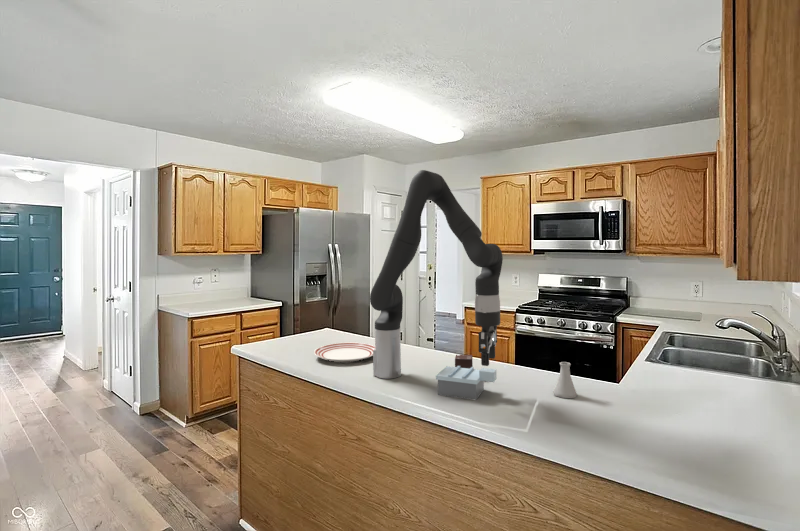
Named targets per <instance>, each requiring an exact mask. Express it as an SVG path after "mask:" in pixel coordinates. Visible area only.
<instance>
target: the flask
mask: <svg viewBox="0 0 800 531" xmlns="http://www.w3.org/2000/svg"><path fill="white" fill-rule="evenodd" d="M571 365H572V364H571V363H570V362H567V361H561V362H559V366H560V371H559V376H558V378H557V381H556V384H555V386H554V388H553V391H552V394H553V396H554V397H558V398H562V399H575V398H576V397H578V393H577V391H576V389H575V386H574V382H573V379H572V376H571V369H570V367H571Z"/></svg>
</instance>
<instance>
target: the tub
mask: <svg viewBox="0 0 800 531" xmlns="http://www.w3.org/2000/svg"><path fill="white" fill-rule="evenodd" d="M484 386H485V381H479V383H478V384H469V383H461V382H453V381H445V380H437V395H438V396H443V397H444V396H445V397H450V398H459V399H467V400H474V401H477V399H478V398H479V397H480V395H481V394H482V393H483V391H484V390H485V389H484V388H485V387H484Z"/></svg>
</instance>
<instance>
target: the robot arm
mask: <svg viewBox="0 0 800 531" xmlns="http://www.w3.org/2000/svg"><path fill="white" fill-rule="evenodd" d="M454 195H455V194H453V192H452V190H451V188H450V187H449V186H448V183H447V182H446V180H445V179H444V177H443V176H442V175H441V174H438V173H436V172H433V171H429V170H426V169H420V170H419V171H417V172H416V173H415V174H414V175H413V177H412V178H411V180H410V182H409V188H408V191H407V195H406V200H405V203H404V207H403V210H402V212H401V214H400V217H399V222H398V224H397V227H396V230H395V232H394V235H393V237H392V240H391V243H390V246H389V249H388V251H387V253H386V257H385V260H384V262H383V265H382V267H381V270H380V272H379V274H378V276H377V278H376V280H375V282H374V284H373V287H372V288H371V291H370V294H369V302H370V305H371V308H373V310H375V311H378V312H379V311H380V314H379V316H378V317H377V318H376V319H375V321H374V346H375V349H374V350H373V356H372V363H373V364H372V370H373V372H372V374H373V376H374V377H377V378H379V379H386V380H387V379H389V380H391V379H395V378H398V377H400V376H402V358H401V357H402V356H401V355H402V354H401V353H402V352H401V351H402V350H401V349H402V348H401V322H402V321H403V312H404V310H403V307H404V306H403V305H404V304H403V303H404V302H403V301H404V298H403V292H402V289H401V287H399V286H398V284H397V283H398V281H399V278H400V277H401V276H402V275H403V272H404V271H405V270H406V269H407V267H409V265H410V264H411V262H413V259H414V258H415V256H416V254H417V251H418V249H419V246H420V244H421V241H422V223H421V222H422V221H421V220H422V214H423V210H424V208H425V206H426V203H427V201H430V202H433V203H434V204H435V205H436V206H437V207H438V208H439V209H440V210H441V211H442V213H443V215H444V217H445V220H446V222H447V225H448V227H449V228H450V230H451V231H452V233H453V234H454V236H455V237H456V238H457V239H458V241H459V242H460V243H461V244H462V247H463V249H464V251H465V253H466V255H467V257H468V259H469V260H470V262H471V264H473V265H475V266H476V267H479V268H481V271H480V274H479V275H478V276H476V278H475V281H474V282H475V298H474V316H475V317H474V320H475V321H474V322H475V323H474V324H475V325H476V326H478V327H480V326H481V331H478V353H480V354H481V355H480V357H481V358H480V362H481V363H480V364H481V366H482V367H483V366H484V367H488V366H490V359H495V358H496V347H497V343H498V332H497V331H498V330H497V329H498V328H497V327H498V326H500V325H501V300H500V283H499V281H500V277H501V273H502V267H503V260H504V259H503V253H502V249H501V247H499V246H498V244H494V243H485V242H484V240H482V236H483V234H482V233H483V232H482V231H481V229H480V228H479V227H478V226H477V224H476V222H474V221H473V219H472V218H471V216H469V215H468V213H467V212H466V210H465V209H463V207H462V205H460V203H459V202H458V200H457V198H456V196H454ZM484 347H485V348H484Z"/></svg>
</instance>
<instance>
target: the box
mask: <svg viewBox="0 0 800 531" xmlns="http://www.w3.org/2000/svg"><path fill="white" fill-rule="evenodd" d="M457 366H460V368H469V369H470V368H471V367H473V355H472V354H455V357H454V367H457Z"/></svg>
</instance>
